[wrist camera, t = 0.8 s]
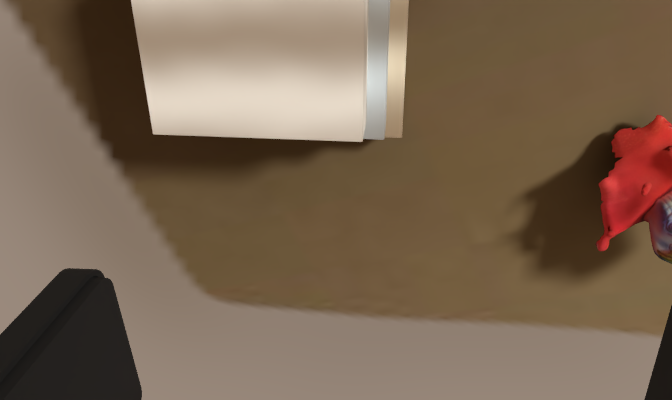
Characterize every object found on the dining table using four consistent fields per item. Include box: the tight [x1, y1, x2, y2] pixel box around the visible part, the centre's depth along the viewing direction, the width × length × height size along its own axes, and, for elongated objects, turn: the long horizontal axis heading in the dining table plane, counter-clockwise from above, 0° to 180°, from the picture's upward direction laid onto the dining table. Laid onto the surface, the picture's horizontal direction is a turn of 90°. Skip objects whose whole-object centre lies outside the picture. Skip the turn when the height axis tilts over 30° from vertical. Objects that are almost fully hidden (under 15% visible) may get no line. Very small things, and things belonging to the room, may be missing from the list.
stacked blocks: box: [131, 0, 409, 142], centre depth 31 cm, size 15×15×9 cm
